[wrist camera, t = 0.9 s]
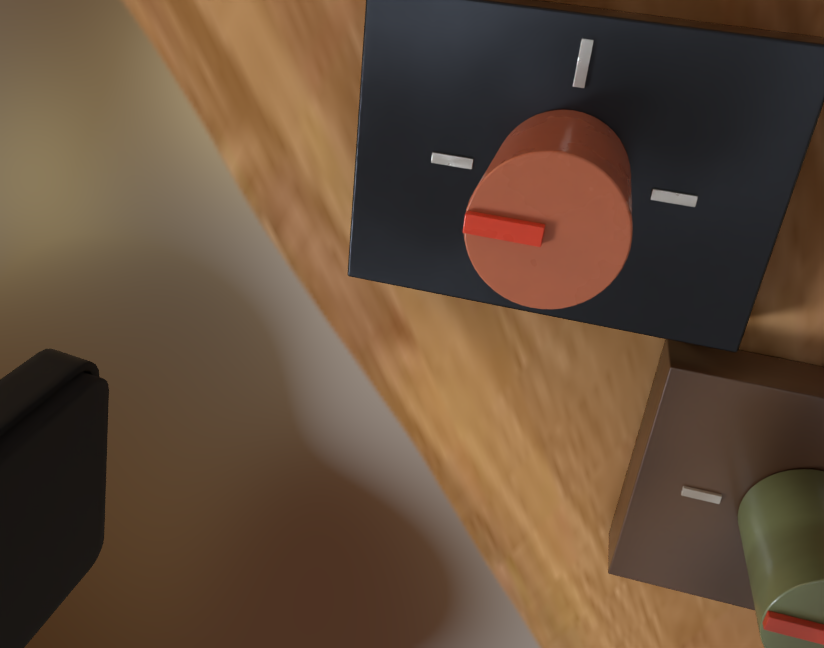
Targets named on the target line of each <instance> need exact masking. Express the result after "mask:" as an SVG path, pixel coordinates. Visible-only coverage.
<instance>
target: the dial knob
mask: <svg viewBox="0 0 824 648" xmlns="http://www.w3.org/2000/svg"><path fill="white" fill-rule="evenodd" d="M632 232H633V223H632V193H631V170H630V162H629V158H628V155H627V152H626V150H625V147H624V145H623V144H622V142H621V140H620V139H619V137H618V136H617V135H616V134H615V132H614V131H613V130H612V129H611V128H610V127H609V126H607V125H606V124H605V123H603V122H602V121H601V120H599V119H597V118H595V117H593V116H591V115H588V114H586V113H583V112H579V111H574V110H553V111H547V112H544V113H540V114H537V115H535V116H533V117H531V118H529V119H527V120H525V121H524V122H522V123H521V124H520V125H518V126H517V127H516V128H515V129H514V130H513V131H512V132H511V133H510V134H509V135H508V136H507V138H506V139H505V141H504V142H503V143H502V145H501V147H500V148H499V150H498V152H497V153H496V155H495V157H494V159H493V160H492V162H491V164H490V165H489V167H488V169H487V170H486V172H485V174H484V175H483V177H482V179H481V180H480V182H479V184H478V185H477V187H476V189H475V190H474V192H473V194H472V196H471V198H470V200H469V203H468V206H467V209H466V213H465V218H464V225H463V233H464V240H465V245H466V250H467V252H468V255H469V258H470V260H471V262H472V264H473V266H474V268H475V270H476V271H477V273H478V274H479V276H480V277H481V278H482V279H483V280H484V281H485V283H486V284H487V285H488V286H490V287H491V288H492V289H493V290H494V291H495V292H497V293H498V294H500V295H501V296H503V297H504V298H506V299H508V300H510V301H512V302H515V303H517V304H520V305H523V306H527V307H530V308H537V309H561V308H566V307H571V306H575V305H577V304H580V303H583V302H585V301H587V300H589V299H591V298H593V297H595V296H596V295H598V294H599V293H601V292H602V291H603V290H604V289H605V288H607V287H608V286H609V285H610V284H611V283H612V282H613V280H614V279H615V278H616V277H617V276H618V274H619V273H620V271H621V270H622V268H623V266H624V264H625V262H626V260H627V258H628V255H629V252H630V248H631V243H632Z"/></svg>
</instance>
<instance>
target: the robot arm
mask: <svg viewBox="0 0 824 648" xmlns="http://www.w3.org/2000/svg"><path fill="white" fill-rule="evenodd" d="M108 398H109V389H108V383H107V381H106V380H105V379H103V378H100V377H99V370H98V368H97V366H96V364H94V363H92V362H90V361H87V360H84V359H81V358H78V357H75V356H72V355H69V354H66V353H63V352H60V351H57V350H54V349H45V350H43V351H41V352H39V353H37V354H36V355H34V356H33V357H31V358H30V359H29V360H27V361H26V362H24V363H23V364H22V365H20V366H19V367H17V368H16V369H15V370H13V371H12V372H11V373H9V374H8V375H6V376H5V377H3V378H2V379H1V380H0V648H24V647H25V646H26V645H27V644H28V642H29V641H30V640H31V639H32V637H33V636H34V635H35V634H36V633H37V632H38V630H39V629H40V628H41V627H42V626H43V624H44V623H45V622H46V621H47V620H48V618H49V617H50V616H51V615H52V614H53V612H54V611H55V610H56V609H57V608H58V606H59V605H60V604H61V603H62V602H63V601H64V599H65V598H66V597H67V596H68V594H69V593H70V592H71V591H72V590H73V588H74V587H75V586H76V585H77V584H78V583H79V582H80V580H81V579H82V578H83V577H84V576H85V574H86V573H87V572H88V571H89V570H90V568H91V567H92V566H93V564H94V563H95V561H96V559H97V557H98V555H99V553H100V551H101V548H102V545H103V540H104V522H105V491H106V490H105V489H106V459H107V427H108Z"/></svg>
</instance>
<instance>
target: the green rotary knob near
mask: <svg viewBox="0 0 824 648" xmlns="http://www.w3.org/2000/svg"><path fill="white" fill-rule="evenodd" d="M738 525H739V530H740V536H741V541H742V546H743V551H744V556H745V561H746V566H747V571H748V576H749V581H750V586H751V591H752V596H753V601H754V606H755V611H756V617H757V622H758V627H759V632H760V636H761V640H762V643H763V645H764V647H765V648H824V471H819V470H812V469H795V470H788V471H783V472H779V473H776V474H773V475H771V476H769V477H767V478H764V479H763V480H761V481H760V482H758V483H757V484H755V485H754V486H753V487H752V488H751V489H750V490H749V491H748V492H747V493H746V495H745V496H744V498H743V499H742V502H741V504H740V506H739V510H738Z"/></svg>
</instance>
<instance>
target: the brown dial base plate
mask: <svg viewBox="0 0 824 648" xmlns="http://www.w3.org/2000/svg"><path fill="white" fill-rule="evenodd" d="M795 469H812V470H819V471H824V367H821V366H816V365H811V364H806V363H801V362H796V361H791V360H786V359H781V358H775V357H770V356H765V355H760V354H755V353H750V352H745V351H740V350H738V351H737V352H730V351H725V350H720V349H715V348H710V347H705V346H700V345H695V344H690V343H684V342H679V341H674V340H669V339H666V340H665V344H664V347H663V350H662V354H661V357H660V361H659V364H658V367H657V371H656V374H655V378H654V381H653V385H652V388H651V391H650V395H649V398H648V402H647V405H646V408H645V412H644V415H643V419H642V422H641V426H640V429H639V432H638V436H637V439H636V443H635V446H634V449H633V453H632V456H631V460H630V463H629V467H628V470H627V473H626V477H625V480H624V484H623V487H622V490H621V494H620V497H619V501H618V504H617V508H616V511H615V514H614V518H613V521H612V525H611V528H610V531H609V553H608V573H609V574H613V575H616V576H620V577H624V578H628V579H632V580H636V581H640V582H644V583H648V584H652V585H656V586H660V587H664V588H668V589H672V590H676V591H680V592H684V593H688V594H692V595H696V596H700V597H704V598H708V599H712V600H716V601H720V602H724V603H728V604H732V605H736V606H740V607H744V608H748V609H752V610H755V606H754V601H753V596H752V591H751V586H750V581H749V576H748V571H747V566H746V561H745V556H744V551H743V546H742V541H741V536H740V530H739V525H738V510H739V506H740V504H741V502H742V499H743V498H744V496H745V495H746V493H747V492H748V491H749V490H750V489H751V488H752V487H753V486H754V485H755V484H757V483H758V482H760V481H761V480H763V479H764V478H767V477H769V476H771V475H773V474H776V473H779V472H783V471H788V470H795Z"/></svg>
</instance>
